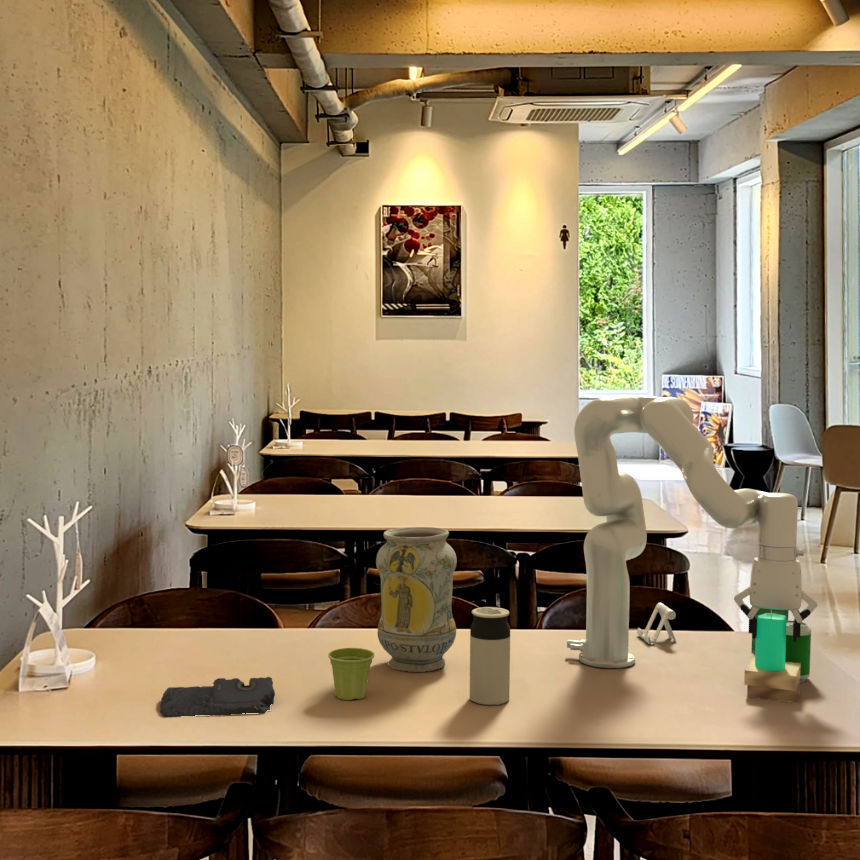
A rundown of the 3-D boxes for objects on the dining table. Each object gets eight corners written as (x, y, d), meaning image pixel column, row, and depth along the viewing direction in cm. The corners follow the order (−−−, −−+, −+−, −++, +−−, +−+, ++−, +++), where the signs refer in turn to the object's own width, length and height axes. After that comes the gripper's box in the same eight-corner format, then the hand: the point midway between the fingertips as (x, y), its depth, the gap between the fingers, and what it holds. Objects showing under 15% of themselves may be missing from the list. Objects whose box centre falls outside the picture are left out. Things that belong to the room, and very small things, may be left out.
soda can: (812, 684, 231) (813, 628, 230) (774, 682, 233) (776, 626, 232) (807, 674, 238) (808, 620, 238) (771, 672, 240) (772, 618, 239)
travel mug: (482, 708, 213) (483, 617, 212) (462, 696, 221) (463, 608, 219) (516, 702, 217) (518, 613, 216) (496, 691, 224) (497, 605, 223)
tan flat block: (747, 700, 222) (747, 685, 222) (748, 686, 232) (748, 672, 231) (798, 705, 219) (799, 690, 219) (798, 691, 228) (798, 676, 228)
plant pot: (381, 692, 223) (381, 650, 223) (363, 705, 214) (363, 662, 214) (339, 687, 226) (339, 645, 226) (320, 700, 217) (320, 657, 217)
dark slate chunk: (164, 696, 221) (164, 673, 220) (274, 692, 224) (274, 669, 224) (157, 721, 206) (157, 696, 205) (275, 716, 209) (275, 692, 209)
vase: (361, 670, 239) (362, 534, 237) (394, 650, 255) (395, 522, 253) (438, 680, 232) (439, 540, 230) (467, 658, 248) (468, 528, 247)
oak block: (744, 684, 223) (744, 670, 222) (750, 671, 232) (750, 657, 232) (795, 691, 219) (796, 676, 218) (800, 677, 228) (800, 663, 228)
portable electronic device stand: (637, 636, 270) (637, 603, 270) (667, 635, 271) (668, 602, 271) (647, 645, 262) (648, 611, 261) (679, 645, 263) (680, 610, 262)
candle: (778, 662, 228) (780, 605, 227) (789, 670, 222) (791, 612, 221) (750, 663, 228) (751, 606, 227) (761, 671, 222) (762, 612, 221)
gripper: (821, 553, 224) (818, 638, 225) (733, 547, 230) (731, 630, 231) (822, 559, 217) (819, 647, 218) (731, 553, 222) (729, 639, 224)
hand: (774, 638), depth 224 cm, fingers open, 7 cm apart
